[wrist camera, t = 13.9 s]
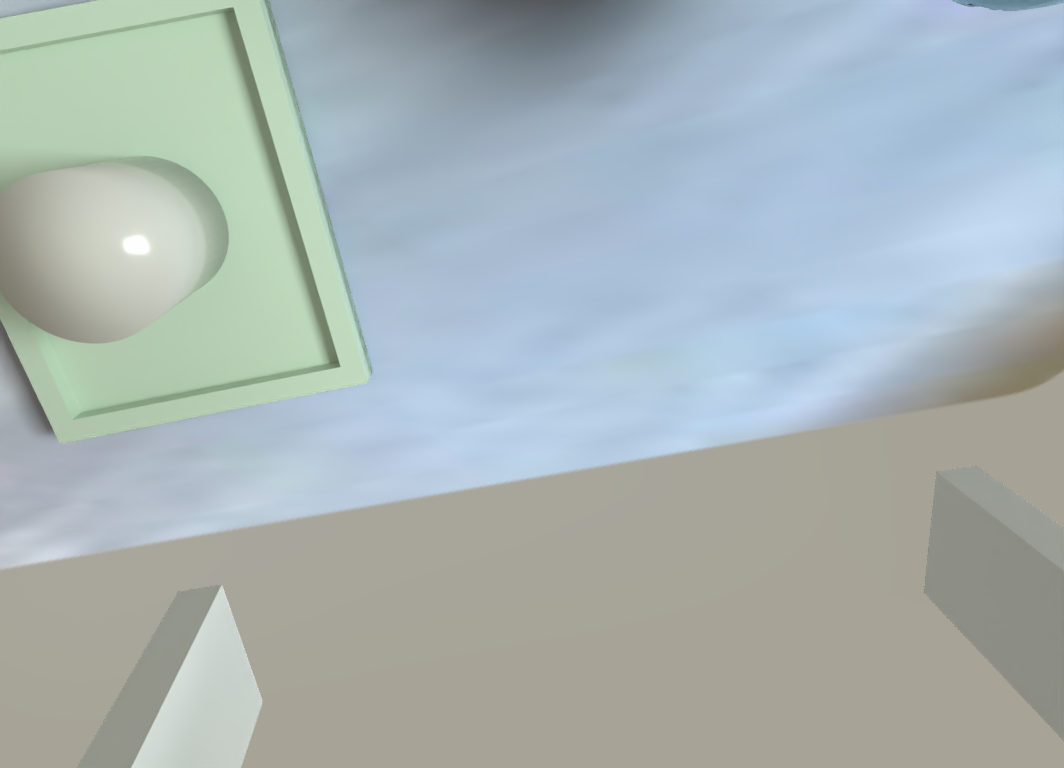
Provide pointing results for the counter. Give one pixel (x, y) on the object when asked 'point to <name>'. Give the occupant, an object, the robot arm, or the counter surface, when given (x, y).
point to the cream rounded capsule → (108, 245)
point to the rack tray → (224, 166)
